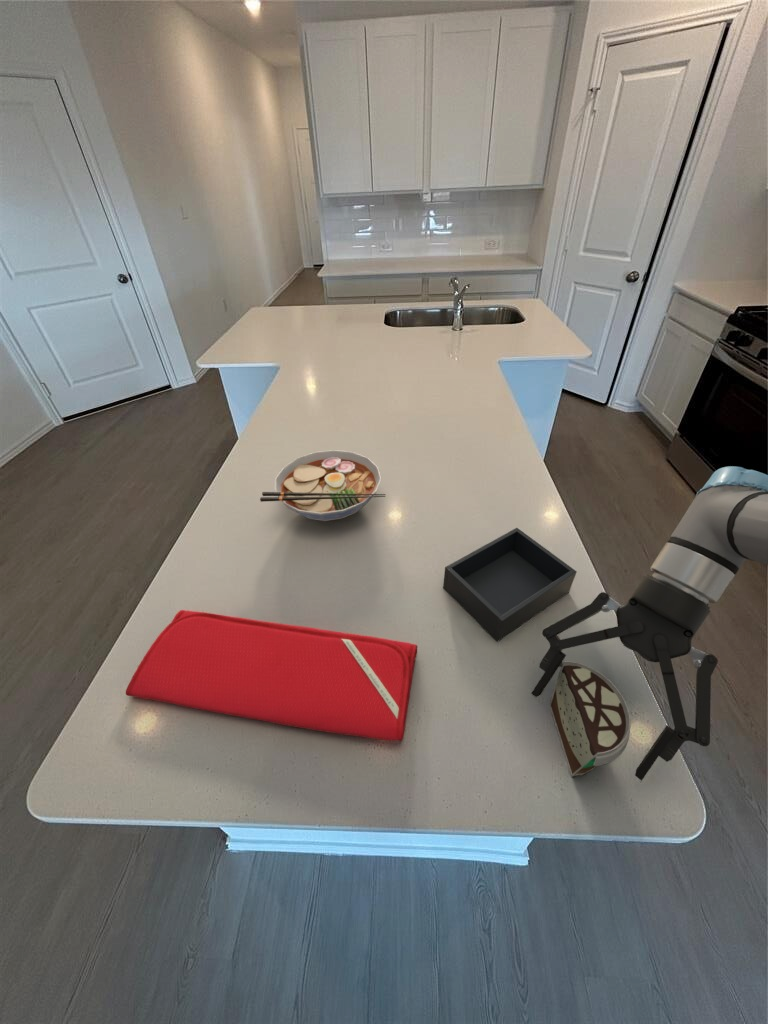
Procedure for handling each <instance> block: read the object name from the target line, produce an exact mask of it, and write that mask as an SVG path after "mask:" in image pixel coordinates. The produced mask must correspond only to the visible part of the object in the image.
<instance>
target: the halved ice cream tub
mask: <svg viewBox="0 0 768 1024" xmlns="http://www.w3.org/2000/svg"><path fill="white" fill-rule="evenodd" d="M558 668H560V671H559V674H558V675H557V676H558V677H557V680H556V682H555V686H554V688H553V692H552V695H551V697H550V700H549V703H548V706H549V709H550V712H551V716H552V719H553V722H554V725H555V729H556V732H557V735H558V739H559V741H560V745H561V749H562V751H563V754H564V757H565V761H566V764H567V768H568V771H569V773H570V777H571V778H578V777H581V776H583V775H586V774H588V773H589V772H591V771H593V769H595V768H597V766H598V767H599V766H603V765H607V764H609V763H612V762H614V761H615V760H616V759H618V758H619V757H620V756H621V755H622V754H623V752H624V751H625V749H626V748H627V745H628V742H629V740H630V735H631V729H632V723H631V715H630V709H629V708H628V707H629V706H628V705H627V702H626V700H625V698H624V696H623V695H622V694H621V692H620V690H619V688H618V687H616V685H615V684H614V683H613V681H611V680H610V679H608V677H607V676H605V675H604V674H602V673H601V672H600V671H598V670H597V669H595V668H593V667H592V666H589V665H587V664H584V663H580V662H577V661H571V660H563V661H562V662H561V664H560V665H559V667H558Z"/></svg>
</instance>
